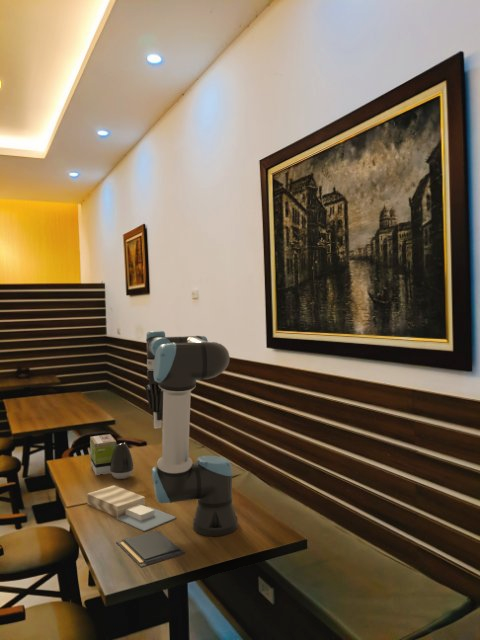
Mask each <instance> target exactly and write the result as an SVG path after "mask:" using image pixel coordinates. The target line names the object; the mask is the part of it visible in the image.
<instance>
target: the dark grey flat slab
mask: <svg viewBox="0 0 480 640" xmlns="http://www.w3.org/2000/svg"><path fill="white" fill-rule="evenodd" d="M115 543H116V544H117V546H118V547H119V548H121V549H122V550H123V552H124V553H126V554H127V556H129V557H130V558H131V559H132V561H133V562H135V563H136V565H138V566H139V568H141V569H142V568H144V567H148V566H152V565H154V564H158V563H162V562H164V561H168V560H171V559H175V558H177V557H181V556H183V555H185V554H186V552H185V551H184V550H183V549H182V548H180V546H178V545H177V544H176V543H174V542H173V541H172V540H170V539H169V537H167V536H166V535H164V534H163V533H162V531H159V530H152V531H148V532H145V533H144V532H143V533H142V534H139V535H134V536H131V537H127V538H123V539H121V540H119V541H116V542H115Z"/></svg>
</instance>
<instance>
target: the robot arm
mask: <svg viewBox="0 0 480 640" xmlns="http://www.w3.org/2000/svg"><path fill="white" fill-rule="evenodd" d="M145 341H146V369H147V371H146V379H147V380H148V384H147V385H145V386H144V389H145V391H146V399H147V404H148V408H149V410H150V411H152V419H153V429H155V430H156V429H161V428H162V429H161V430H162V431H161V432H162V434H161V437H162V438H161V457H159V458H158V460H157V462H156V466H154V467H152V468H151V476H152V484H153V489H154V494H155V499H156V501H157V502H158V503H159V504H173V503H178V502H179V503H180V502H186V501H194V500H197V507H196V511H195V515H194V516H193V520H192V529H193V531H194V532H196V533H197V534H199V535H201V536H209V537H220V536H226V535H229V534H232V533H233V532H235V531H237V529H238V527H239V525H238V524H239V523H238V522H239V521H238V520H239V519H238V516H237V515H236V511H235V507H234V505H233V471H232V470H233V469H232V463H231V462H230V461H229V460H228V459H226V458H225V457H222V456H217V455H215V456H214V455H202V456H198V457H197V458H196V462H193V459H192V458H191V457H190V456H189V450H190V449H189V448H190V446H189V445H190V423H191V422H190V421H191V420H190V419H191V418H190V417H191V416H190V415H191V396H192V395H191V394H192V391H193V390H194V389H195V388H196V386H197V380H198V381H199V380H209V379H213V378H216V377H218V376H219V375H221V374H222V373H224V371H225V370H226V369H227V368H228V367H229V363H230V354H229V353H230V352H229V351H228V349H227V348H226V347H225V345H223V344H222V343H218V342H217V341H216V342H215V341H210V342H209V341H208V338H207V337H206V336H205V335H193V336H192V335H190V336H189V335H188V336H166V332H165V331H163V330H150V331H147V332H146V339H145Z"/></svg>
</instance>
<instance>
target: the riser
mask: <svg viewBox="0 0 480 640" xmlns="http://www.w3.org/2000/svg"><path fill="white" fill-rule="evenodd" d="M86 496H87V498H86V499H87V500H86V501H87V505H88V506H90V507H93V508H95V509H97V510H100V511H102V512H104V513H106V514H108V515H110V516H113V517H115V518H118V517H120V516H123V515H126V514H125V509H126V508H129V507H132V506H134V505H137V504H141V505H143V506H146V497H145V496H144V495H141V494H138V493H136V492H133V491H130V490H127V489H126V488H123V487H120V486H118V485H110V486H108V487H104V488H100V489H98V490H95V491H92V492H88V493H87V494H86Z"/></svg>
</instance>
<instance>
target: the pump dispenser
mask: <svg viewBox="0 0 480 640" xmlns="http://www.w3.org/2000/svg"><path fill="white" fill-rule="evenodd" d="M134 466H135V464H134V460H133V456H132V453H131V450H130V447H128V445H127V442H126V441H124V442H121V443H118V444H117V446H116V447H115V449H114V451H113V455H112V459H111V464H110V471H111V473H110V474H111V476H112V477H113V478H115V479H116V480H125V479H128V478H130V476H132V474H133V471H134V469H135V467H134Z"/></svg>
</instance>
